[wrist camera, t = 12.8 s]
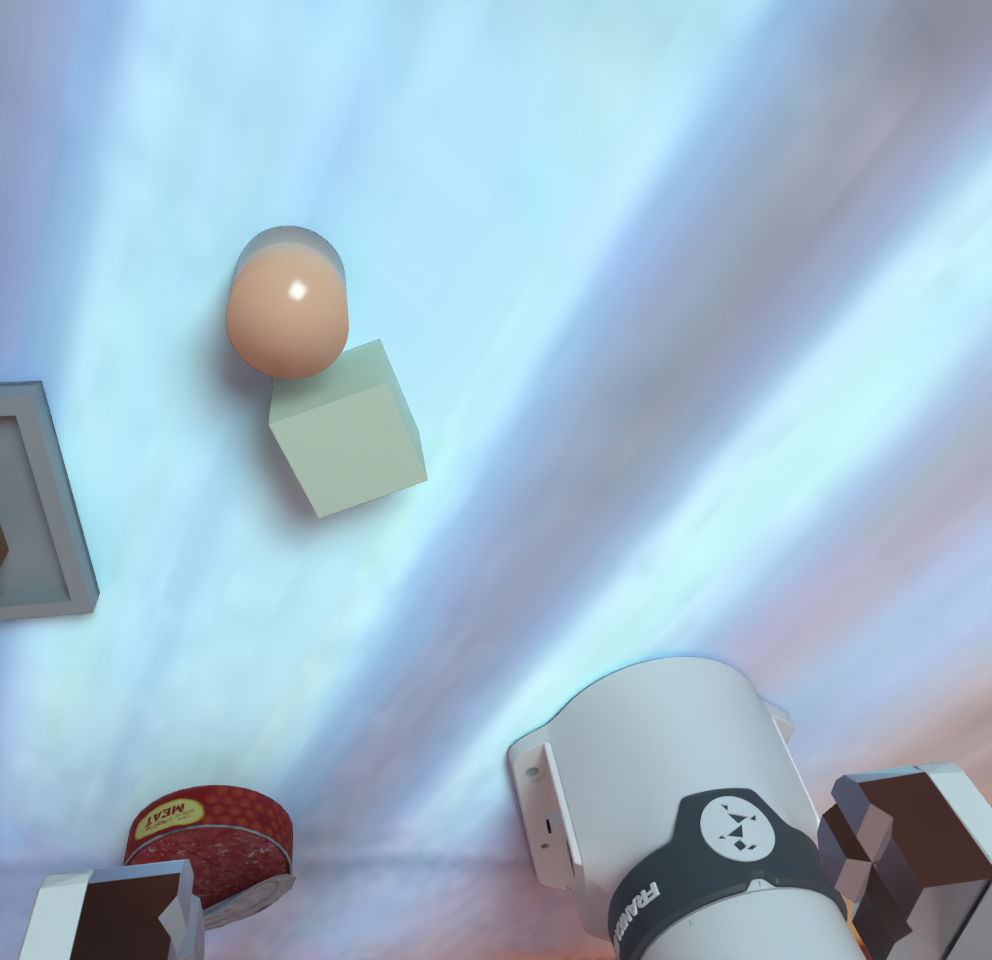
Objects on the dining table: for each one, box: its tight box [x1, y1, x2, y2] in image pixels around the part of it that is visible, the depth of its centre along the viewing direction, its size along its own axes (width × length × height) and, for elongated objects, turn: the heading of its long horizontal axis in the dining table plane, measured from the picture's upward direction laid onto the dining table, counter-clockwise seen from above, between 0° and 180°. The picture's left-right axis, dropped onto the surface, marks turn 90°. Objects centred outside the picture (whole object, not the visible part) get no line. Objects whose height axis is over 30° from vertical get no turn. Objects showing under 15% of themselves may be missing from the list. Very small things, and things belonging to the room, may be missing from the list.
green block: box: [269, 339, 428, 518], centre depth 38 cm, size 5×5×4 cm
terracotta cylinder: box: [226, 226, 349, 379], centre depth 34 cm, size 4×4×5 cm
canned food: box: [123, 785, 296, 931], centre depth 52 cm, size 11×10×10 cm
